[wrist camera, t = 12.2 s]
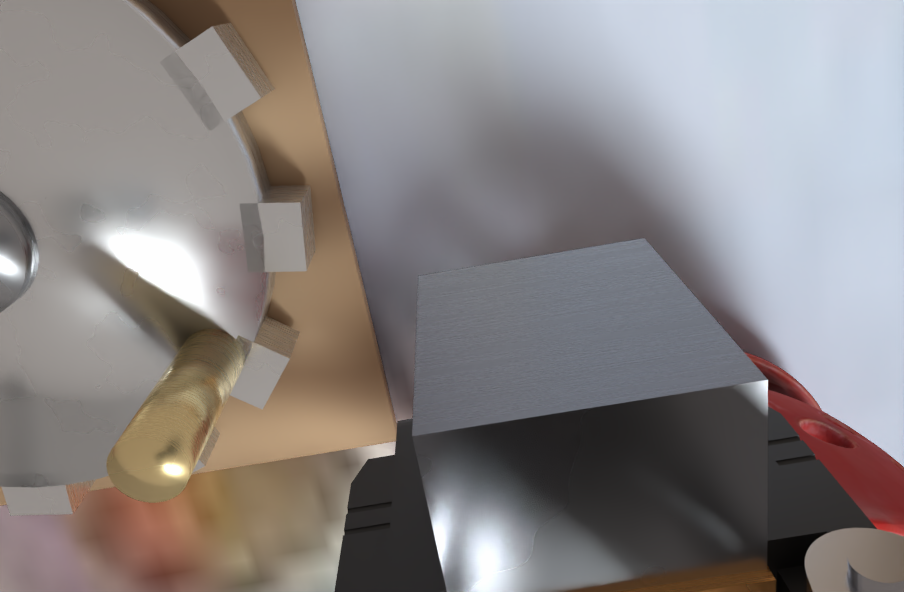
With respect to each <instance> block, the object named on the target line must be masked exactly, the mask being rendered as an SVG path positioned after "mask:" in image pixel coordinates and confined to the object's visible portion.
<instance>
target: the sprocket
mask: <svg viewBox="0 0 904 592" xmlns="http://www.w3.org/2000/svg"><path fill="white" fill-rule="evenodd" d="M274 89H275V88H274V87H273V85H272V84H271V82H270V81H269V79H268V78H267V76H266V75H265V73H264V72H263V70H262V69H261V67H260V66H259V64H258V63H257V61H256V60H255V58H254V57H253V55H252V54H251V52H250V51H249V49H248V48H247V46H246V45H245V43H244V42H243V40H242V39H241V37H240V36H239V34H238V33H237V31H236V30H235V28H234V27H233V25H232V24H231V23H227V24H222V25H216V26H212V27H210V28H209V29H207V30H206V31H204V32H203V33H201V34H200V35H199V36H197V37H196V38H194V39H193V40H191V39H190V38H189V37H188V36H187V35H186V34H185V33H184V32H183V31H182V30H181V29H180V28H179V27H178V26H177V25H176V24H175V23H174V22H173V21H172V20H171V19H170V18H169V17H168V16H167V15H166V14H165V13H164V12H163V11H162V10H160V9H159V8H158V7H157V6H155V5H154V4H153V3H152V2H150V1H149V0H0V487H2V490H3V494H4V497H5V500H6V503H7V506H8V510H9V513H10V516H20V515H57V514H73V513H74V512H75V510H76V509H77V507H78V506H79V504H80V503H81V501H82V500H83V498H84V497H85V495H86V494H87V493H88V491H89V490H90V488H91V487H92V485H93V484H94V482H95V481H96V479H100V478H103V477H106V476H109V478H110V480H111V481H112V483H113V484H114V485H115V486H116V488H117V489H119V490H120V491H121V492H122V493H124V494H125V495H127V496H129V497H131V498H133V499H136V500H138V501H143V502H149V503H156V502H164V501H167V500H170V499H172V498H174V497H176V496H177V495H179V494H180V493H181V492H182V491H183V490H184V488H185V486H186V485H187V483H188V480H189V478H190V476H191V474H192V473H193V472H195V471H197V470H199V469H201V468H203V467H204V466H205V465H206V463H207V461H208V459H209V457H210V455H211V452H212V450H213V448H214V446H215V444H216V442H217V439H218V437H219V435H220V433H219V431H218V430H217V429H216V428H215V425H216V423H217V420H218V418H219V416H220V414H221V412H222V410H223V408H224V406H225V404H226V402H227V400H228V398H229V396H233V397H235V398H237V399H239V400H242V401H244V402H246V403H248V404H251V405H253V406H255V407H258V408H260V409H262V410H263V408H264V406H265V404H266V402H267V400H268V399H269V397H270V395H271V393H272V391H273V389H274V387H275V386H276V384H277V382H278V380H279V378H280V376H281V374H282V373H283V371H284V369H285V367H286V365H287V363H288V361H289V360H290V357H291V354H292V352H293V349H294V346H295V344H296V341H297V338H298V336H299V333H300V332H299V331H297V330H295V329H293V328H291V327H288V326H286V325H284V324H282V323H280V322H278V321H276V320H273V319H271V318H269V317H267V313H268V309H269V305H270V301H271V297H272V293H273V289H274V285H275V276H276V272H295V271H307V269H308V267H309V265H310V262H311V260H312V257H313V255H314V253H315V250H316V246H315V235H314V223H313V212H312V201H311V189H310V185H305V186H271V185H270V181H269V178H268V175H267V172H266V169H265V165H264V162H263V159H262V156H261V153H260V150H259V147H258V145H257V143H256V140H255V138H254V136H253V134H252V132H251V130H250V127H249V125H248V123H247V121H246V119H245V116H244V114H243V112H242V110H243V109H245V108H246V107H248V106H250V105H251V104H253V103H254V102H256V101H257V100H259V99H260V98H262V97H263V96H265V95H266V94H268V93H269V92H271V91H272V90H274Z"/></svg>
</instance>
